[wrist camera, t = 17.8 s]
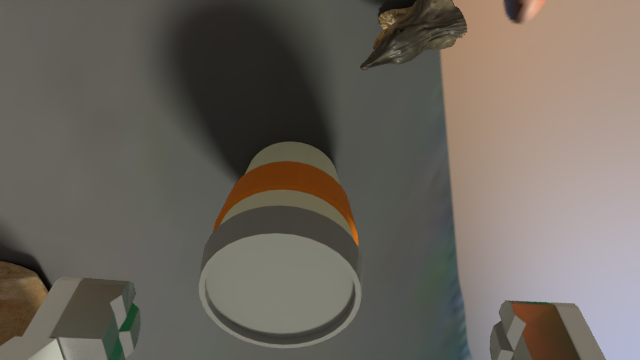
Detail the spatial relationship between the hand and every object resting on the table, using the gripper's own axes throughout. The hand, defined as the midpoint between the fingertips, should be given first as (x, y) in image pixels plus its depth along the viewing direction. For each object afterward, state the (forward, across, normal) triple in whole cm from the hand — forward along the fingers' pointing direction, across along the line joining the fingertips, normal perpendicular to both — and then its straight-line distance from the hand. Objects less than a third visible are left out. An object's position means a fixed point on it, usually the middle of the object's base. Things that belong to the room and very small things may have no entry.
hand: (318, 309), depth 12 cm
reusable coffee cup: (+34, +2, +20) cm, 40 cm away
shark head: (+34, -7, +4) cm, 35 cm away
